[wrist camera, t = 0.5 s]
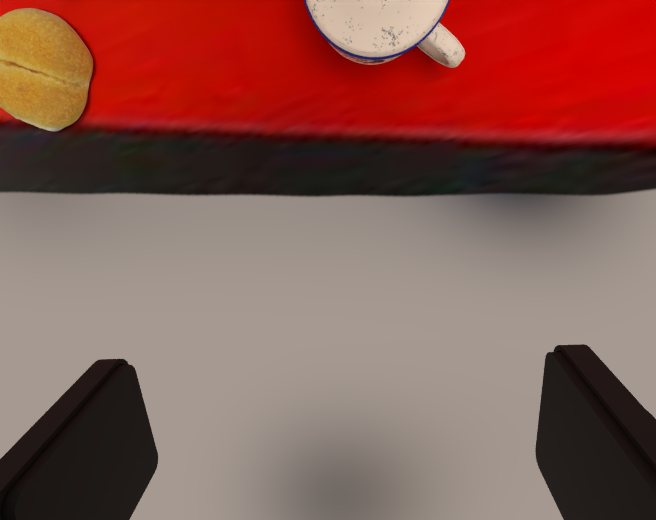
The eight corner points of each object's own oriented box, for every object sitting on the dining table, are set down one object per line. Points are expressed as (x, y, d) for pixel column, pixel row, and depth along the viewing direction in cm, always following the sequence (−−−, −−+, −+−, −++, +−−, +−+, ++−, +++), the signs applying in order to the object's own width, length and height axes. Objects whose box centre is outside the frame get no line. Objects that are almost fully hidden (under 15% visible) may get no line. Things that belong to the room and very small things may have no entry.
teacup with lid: (290, 17, 35) (260, -19, 24) (363, -97, 32) (366, -196, 21) (408, 115, 37) (429, 122, 26) (486, 15, 34) (547, -24, 23)
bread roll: (104, 32, 36) (75, 25, 33) (86, 139, 39) (57, 143, 36) (5, -7, 36) (-36, -19, 32) (-6, 104, 39) (-45, 104, 35)
